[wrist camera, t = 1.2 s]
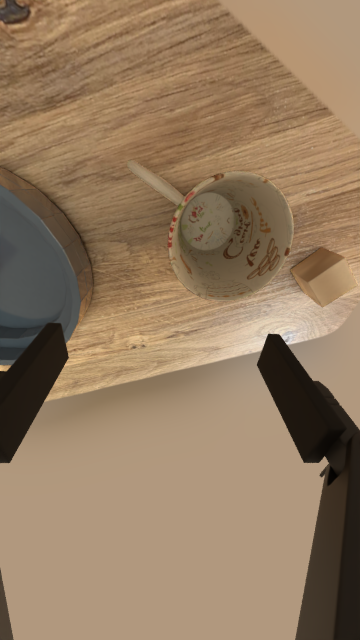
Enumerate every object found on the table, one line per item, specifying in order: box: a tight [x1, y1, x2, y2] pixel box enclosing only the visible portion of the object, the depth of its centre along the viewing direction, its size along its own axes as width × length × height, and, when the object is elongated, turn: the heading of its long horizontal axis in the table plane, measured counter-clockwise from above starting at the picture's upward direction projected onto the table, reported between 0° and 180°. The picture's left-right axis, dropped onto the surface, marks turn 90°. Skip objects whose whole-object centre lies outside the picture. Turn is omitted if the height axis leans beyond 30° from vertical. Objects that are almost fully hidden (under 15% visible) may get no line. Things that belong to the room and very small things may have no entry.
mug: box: [127, 160, 294, 302], centre depth 18 cm, size 8×13×10 cm, turn 58°
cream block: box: [290, 248, 358, 307], centre depth 25 cm, size 4×4×4 cm
